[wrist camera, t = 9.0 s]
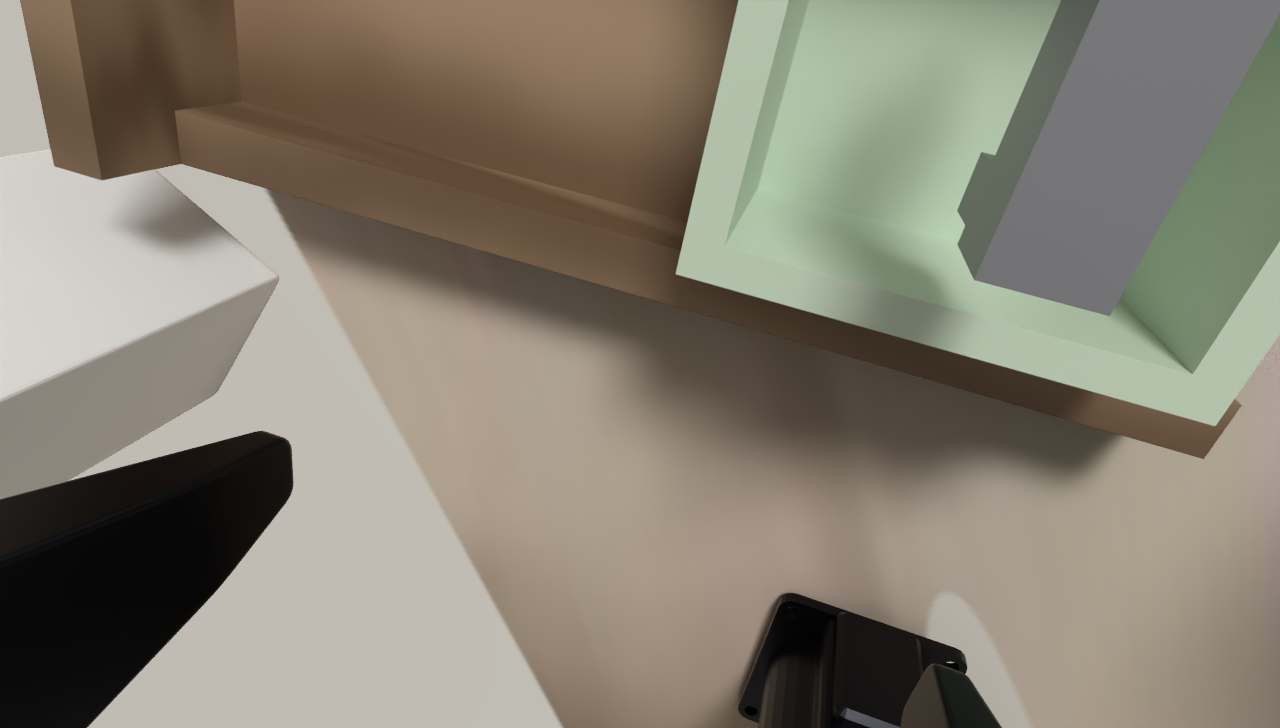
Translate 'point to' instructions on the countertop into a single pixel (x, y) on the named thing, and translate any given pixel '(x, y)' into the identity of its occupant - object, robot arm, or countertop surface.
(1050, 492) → the countertop surface
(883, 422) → the countertop surface
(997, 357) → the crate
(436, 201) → the bay
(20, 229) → the milk carton
